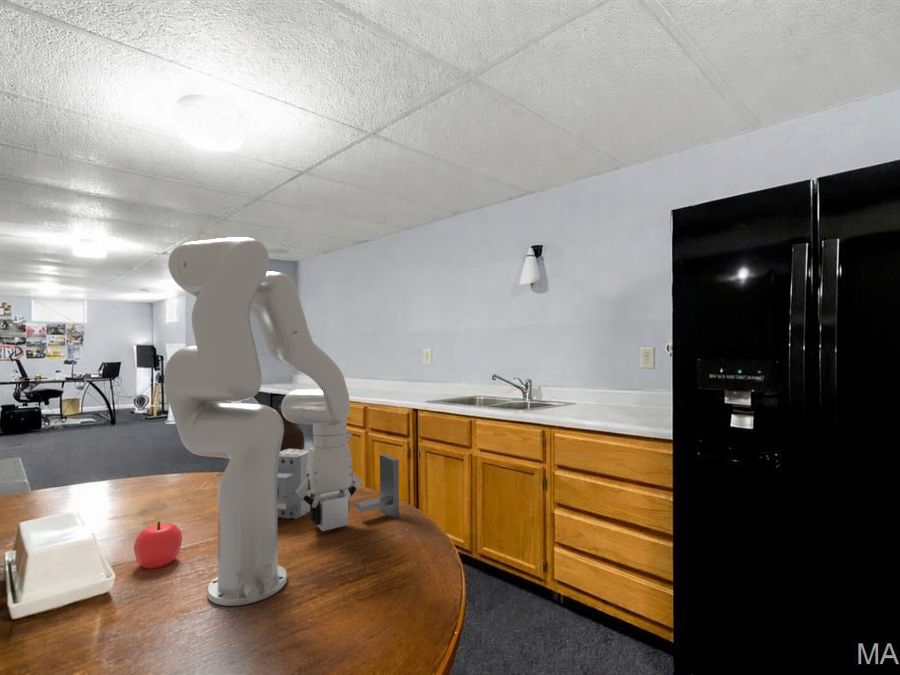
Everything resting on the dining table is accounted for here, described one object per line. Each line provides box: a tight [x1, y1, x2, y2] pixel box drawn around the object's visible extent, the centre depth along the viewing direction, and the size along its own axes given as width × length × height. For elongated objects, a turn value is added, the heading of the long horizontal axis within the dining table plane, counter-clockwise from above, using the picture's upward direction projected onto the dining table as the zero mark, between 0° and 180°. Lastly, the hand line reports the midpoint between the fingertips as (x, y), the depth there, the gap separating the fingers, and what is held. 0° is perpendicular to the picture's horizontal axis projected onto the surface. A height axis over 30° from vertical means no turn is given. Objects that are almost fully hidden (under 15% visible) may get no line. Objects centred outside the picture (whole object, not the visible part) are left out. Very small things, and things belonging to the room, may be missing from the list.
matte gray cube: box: [315, 490, 350, 532], centre depth 104 cm, size 7×6×6 cm
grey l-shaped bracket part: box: [355, 454, 400, 519], centre depth 111 cm, size 7×9×14 cm
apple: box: [133, 520, 183, 570], centre depth 88 cm, size 8×8×8 cm
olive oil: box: [277, 405, 305, 452], centre depth 130 cm, size 11×11×25 cm
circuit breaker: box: [277, 448, 311, 520], centre depth 112 cm, size 8×14×15 cm, turn 166°
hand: (329, 519), depth 104 cm, fingers closed on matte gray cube, 6 cm apart
